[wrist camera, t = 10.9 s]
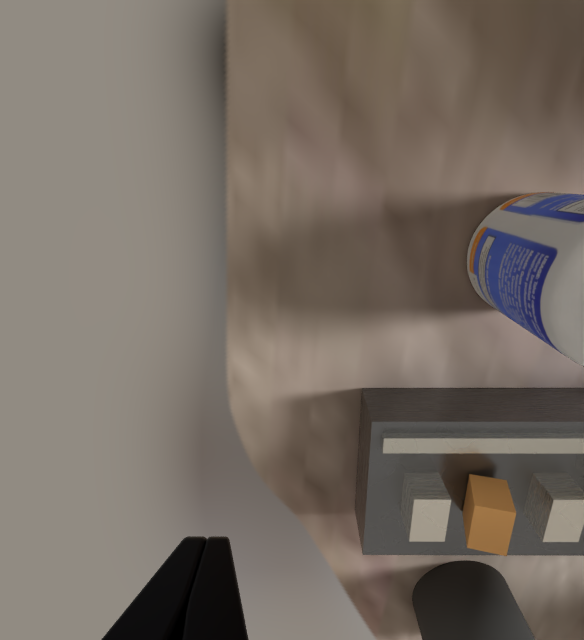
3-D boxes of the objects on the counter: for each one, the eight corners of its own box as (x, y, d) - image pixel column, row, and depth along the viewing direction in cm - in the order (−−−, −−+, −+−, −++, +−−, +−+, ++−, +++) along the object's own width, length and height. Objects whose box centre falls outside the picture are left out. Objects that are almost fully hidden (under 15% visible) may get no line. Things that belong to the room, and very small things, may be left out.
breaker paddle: (506, 480, 19) (516, 512, 17) (497, 520, 20) (506, 556, 18) (469, 473, 19) (474, 505, 18) (462, 513, 20) (467, 547, 18)
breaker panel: (635, 388, 21) (724, 445, 17) (597, 510, 24) (665, 587, 20) (362, 388, 21) (379, 445, 17) (354, 509, 24) (368, 585, 20)
